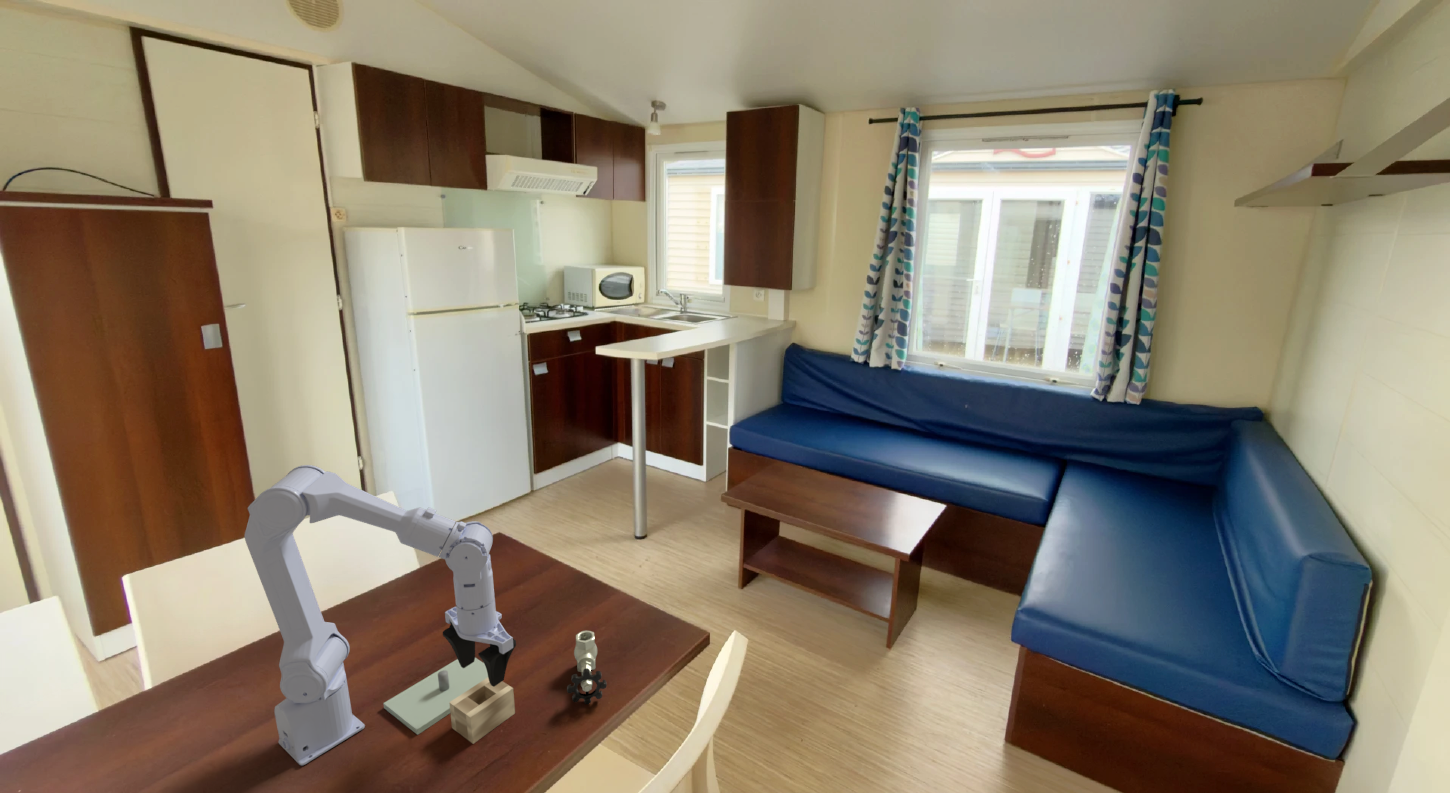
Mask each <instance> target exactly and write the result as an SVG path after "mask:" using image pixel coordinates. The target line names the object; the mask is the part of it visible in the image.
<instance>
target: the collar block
mask: <svg viewBox="0 0 1450 793" xmlns="http://www.w3.org/2000/svg"><path fill="white" fill-rule="evenodd" d="M449 704H450V719H451V721H450V722H451V728H452V730H454V731H455V732H457V733H458V734H459V735H461V737H463V738H464V739H466V740H467V741H468V742H469V743H471V744H473V745H474V744H475V743H476V742H478V741H479V740H480V739H482V738H483V737H485V736H486V735H488V734H489V733H490V732H491V731H493V730H494V729H496V728H497V727H498V726H500V725H501V724H503V723H504V722H505V721H506V720H508V719H509V718H510V717H513V715H515V714H516V707H515V695H514V687H513V686H510V685H509V684H507V682H504V680H503V681H502V682H500V683H499V684H497V685H496V686H495V687H493V686H492V685H491V684H490V682H489V678H486V679H484V680H483V681H481V682H480V683H478V684H477V685H475V686H474V687H472V688H471V689H469V690H468V691H466V692H464V693H463V694H461V695H460V696H458V697H457V698H455V699H454V700H452V701H451V702H449Z"/></svg>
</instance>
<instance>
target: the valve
mask: <svg viewBox="0 0 1450 793" xmlns="http://www.w3.org/2000/svg"><path fill="white" fill-rule="evenodd" d="M595 640H596V639H595V632H594V631H591V630H582V631H579V632H578V633H577V634H575V647H574V650H573V655H574V658H575V660H576V666H577V667H576V669H577V672H580V673H581V676H579V675H578V674H577V673H574V674H572V675H571V683H572V684H573V685H572V684H568V685H567V686H566V692H567V693H568V694H572V697H571V698H572V702H573V703H578V702H579V701H580V700H581V699H583V703H584V704H585V705H586V704H587V705H590V704H591V702H592V698H595V699H597V700H600V699H602V698H603V692H602V690H604V689H606V688H607V680H606V679H602V677H603V676H602V671H600V670H596V671H595V674H592V671H594V670H595V669H596V658H597V655H598V647H597V644H596V642H595ZM591 670H592V671H591ZM601 679H602V681H600V680H601ZM593 682H594V683H595V684H596V686H595V687H596V688H595V689H594V690H593V691H591V690H592V689H593V688H592V687H593V685H594V684H593ZM579 684H580V686H581V688H582V692H585V693H582V692H580V691H579V690H578V686H579ZM601 689H602V690H601ZM590 691H591V692H590ZM589 703H590V704H589Z"/></svg>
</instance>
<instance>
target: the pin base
mask: <svg viewBox="0 0 1450 793" xmlns="http://www.w3.org/2000/svg"><path fill="white" fill-rule="evenodd" d="M486 678H488V673H487V669H486V666H485V664H484V662H483V661H482V660H480V659H478V658H477V657H475V660H474V662H473V663H472V664H470V665H468V666H467V667H465V668H462V667H461V665H460V663H459V661H458V659H457V658H456V659H455V660H454V661H452V662H450V663H449V664H447V665H445V666H443V667H442V668H440V669H439V670H437V671H435V672H433V673H431V674H430V675H429V676H427V677H424V679H423V678H422V680H420V681H418V682H417V683H415V684H414V685H411V686H410V687H408V688H407V689H405V690H403V691H401V692H400V693H398V694H397V695H395V696H392V697H391V698H389V699H388V700H386V701H385V702H383V709H385V710H386V711H387V712H388V713H390V714H391V715H392V716H393V717H395V718H396V719H397V720H398V721H399V722H401V723H402V724H403V725H404V726H405V727H407V728H408V729H410V731H412V732H413V733H415V734H416V735H418V736H419V735H420V734H421V733H423V732H425V730H427V729H428V728H430V727H432V726H433V725H435V724H436V723H437V722H439V721H441V720H442V719H444V718H445V717H446V716H448V715H451V713H450V704H449V702H451V701H452V700H454V699H455V698H457V697H458V696H460V695H461V694H463V693H464V692H466V691H468V690H469V689H471V688H472V687H474V686H475V685H477V684H478V683H480V682H481V681H483V680H484V679H486Z"/></svg>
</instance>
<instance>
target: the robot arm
mask: <svg viewBox="0 0 1450 793" xmlns="http://www.w3.org/2000/svg"><path fill="white" fill-rule="evenodd" d="M247 511H248V513H249V517H248V520H247V521H248V522H247V525H246V529H245V531H244V541H245V543H246V546H247V549H248V551H249V554H250V556H251V559H252V562H253V564H254V566H255V570H256V572H257V574H258V577H259V579H260V582H261V585H262V588H263V590H264V593H265V596H266V598H267V601H268V604H269V605H270V606H269V607H270V608H271V611H272V613H273V616H274V619H275V621H276V625H277V626H278V630H279V633H280V634H281V636H282V637H281V638H282V639H283V646H282V650H281V654H280V658H279V659H280V660H279V664H278V667H279V669H280V675H281V678H280V682H279V689H280V691H281V693H282V695H283V696H284V697H285V698H284V699H283V700H282V701H281V702H280V703H278V704H276V705H275V706H274V712H273V713H274V718H275V724H276V728H277V732H278V745H280V747H282V748H283V749H284V750H285V752H287V754H288V755H289V756H291V758H292V759H294V761H295V762H296V763H297V764H298V765H299V766H304V765H306V764H308V763H310V762H311V761H313V760H315V759H316V758H318V757H320V756H321V755H323V754H324V753H326V752H328V751H329V750H331V749H332V748H334V747H336V746H337V745H339V744H341V743H342V742H344V741H345V740H347V739H349V738H350V737H352V736H354V735H355V734H357V733H358V732H360V731H362V730H363V729H365V726H366V725H365V723H364V722H362V721H361V720H360V719H359V718H358V717H356V716H355V715H354V713H352V712H353V711H352V705H351V704H352V703H351V699H350V693H349V686H348V680H347V674H346V670H345V665H344V661H345V660H346V659H347V658H348V656H349V653H350V648H351V647H350V643H349V641H348V640H347V638H345V636H344V635H342V634H341V633H340V632H339V631H338V628H337V625H336V623H334V622H327V621H325V620H324V617H323V614H322V611H321V608H320V606H319V603H318V600H317V598H316V595H315V592H314V588H313V587H312V586H313V585H312V584H311V581H310V578H309V575H308V573H307V570H306V567H305V564H304V562H303V559H302V556H301V554H300V550H299V548H298V545H297V542H296V539H295V536H294V532H295V530H296V529H297V528H298V526H299V525H300V524H302V522H303V521H304V520H305V518H306V517H307V516H309V524H315V523H318V522H321V521H325V520H327V519H330V518H333V517H338V516H341V517H345V518H347V519H351V520H354V521H358V522H361V523H363V524H367V525H370V526H374V527H377V528H380V529H384V530H386V531H391V532H393V533H395V534H396V536H397V539H398V540H399V542H400V544H402V545H405V546H408V547H411V548H413V549H416V550H418V551H420V552H424V553H427V554H429V555H431V556H434V557H437V558H440V559H442V560H445V563H446V565H447V567H448V568H449V570H450V571H452V574H453V578H452V580H453V581H452V582H453V590H454V597H455V598H454V599H455V606H454V607H451V608H449V609H448V610H446V611H445V612H444V618H445V623H447V624H448V625H449V627H446V628H445V629H444V630H443V631H442V636H443V637H444V639H446V641H447V642H448V643H449V644H450V646H451V647H452V649H453V652H454V654H455V656H456V660H457V659H458V661H459V663H460V665H461V667H462V668H465V667H467V666H468V665H470V664H472V663H473V662H474V660H475V658H476V642H477V643H483V644H488V645H489V646H488V647H486V648H484V649H483V650H481V651H480V652H479V653H478V657H479V658H480V659H481V661H482V662H483V663H484V664H485V666H486V669H487V673H488V678H489V682H490V684H491V685H492V686H493V687H495V686H496V685H497V684H499V683H500V682H502V681H503V682H504V680H505V676H506V671H507V667H508V663H509V661H510V658H511V655H512V653H513V651H514V650H515V648H516V646H517V641H516V639H514V637H513V636H511V635H510V634H509V633H508V632H507V631H506V629H505V628H504V626H503V625H502V623H501V622H500V620H501V619H502V618H503V617H502V615H503V614H502V613H501V612H499V611H497V609H496V598H495V596H496V595H495V589H494V588H495V587H494V575H493V574H494V573H493V568H492V561H491V560H492V559H491V554H490V551H491V549H492V545H493V541H494V536H493V533H492V531H491V530H490V528H489V527H488V526H487V525H485V524H484V523H481V521H474V520H473V521H467V522H464V521H462V520H461V521H456V520H454V519H450V518H449V517H446V516H443V515H441V514H439V513H436V512H437V509H434V508H433V507H428V508H427V509H425V508H422V507H416V508H413V509H409V510H406V509H404V508H402V507H399V506H397V505H395V504H394V503H391V502H389V501H386V500H384V499H382V498H380V497H377V496H376V495H373V494H372V493H369V492H367V491H365V490H363V489H361V488H359V487H356V486H354V485H352V484H350V483H348V482H346V481H345V480H344V479H343V478H342V477H340V476H339V474H338V473H336V472H331V471H326V470H324V469H323V468H320V467H319V466H317V465H311V464H302V465H299V466H296V467H295V468H293V469H292V470H290V471H289V472H288V473H287V474H286V475H284V477H282V478H281V479H279V480H278V481H277V482H276V483H274V484H273V485H272V486H271V487H269V488H267V489H265V490H264V491H262V492H261V493H259V495H258V496H257V497H256V498H255V499H254V501H252V502H251V503H250V504H249V505H248V507H247Z"/></svg>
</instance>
